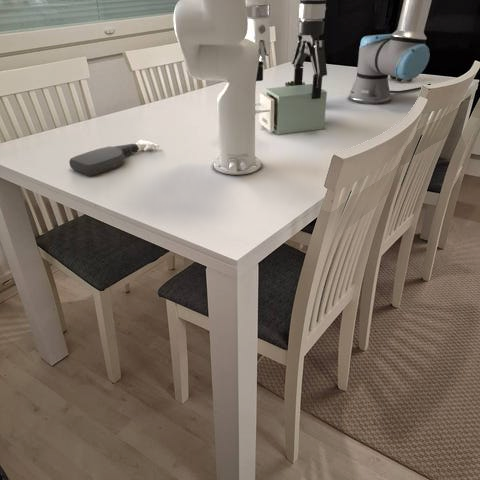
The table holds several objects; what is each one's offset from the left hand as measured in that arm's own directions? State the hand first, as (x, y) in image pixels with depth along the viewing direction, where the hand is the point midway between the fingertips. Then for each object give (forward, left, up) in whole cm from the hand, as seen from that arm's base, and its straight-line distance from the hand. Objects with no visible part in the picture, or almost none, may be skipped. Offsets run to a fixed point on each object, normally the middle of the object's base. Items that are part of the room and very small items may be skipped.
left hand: (256, 79), depth 135 cm
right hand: (+5, -16, -6) cm, 18 cm away
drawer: (+2, -7, -15) cm, 17 cm away
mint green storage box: (+4, -13, -16) cm, 21 cm away
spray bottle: (-22, +40, -16) cm, 48 cm away
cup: (+30, -16, -16) cm, 37 cm away
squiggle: (+66, -69, -16) cm, 96 cm away
